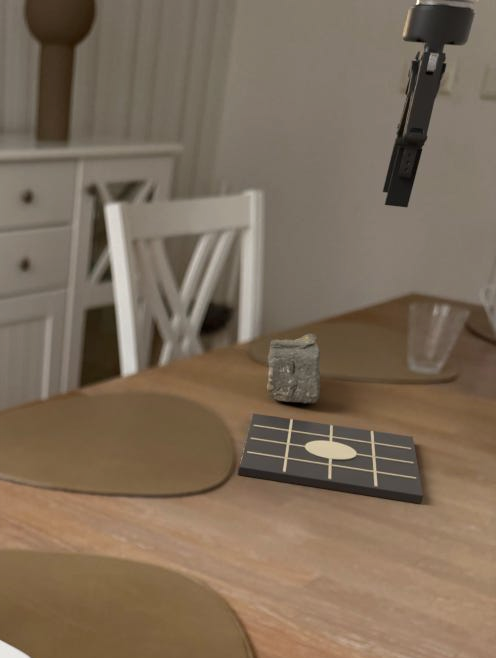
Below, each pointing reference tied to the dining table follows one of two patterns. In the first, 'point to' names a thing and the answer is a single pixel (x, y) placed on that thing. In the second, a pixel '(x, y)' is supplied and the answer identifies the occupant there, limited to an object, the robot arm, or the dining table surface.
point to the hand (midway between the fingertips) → (394, 199)
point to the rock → (294, 370)
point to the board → (332, 458)
